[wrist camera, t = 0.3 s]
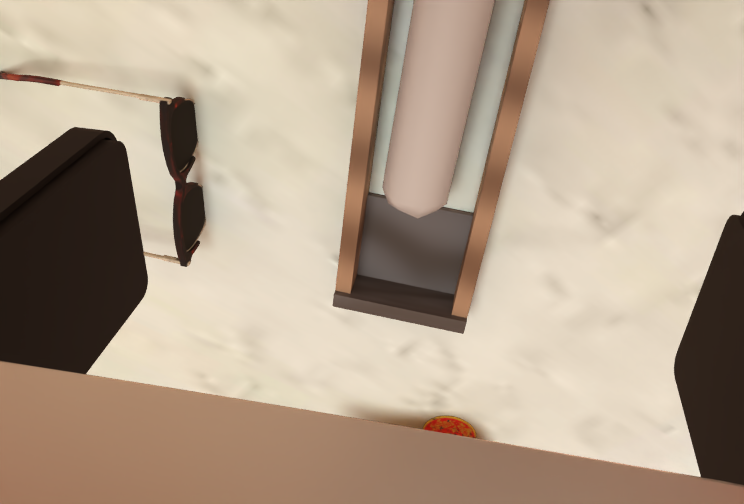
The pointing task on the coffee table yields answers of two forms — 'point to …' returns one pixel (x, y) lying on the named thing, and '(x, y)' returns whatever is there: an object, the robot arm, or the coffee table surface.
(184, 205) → the sunglasses
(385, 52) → the trap channel
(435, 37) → the tube
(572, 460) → the robot arm
